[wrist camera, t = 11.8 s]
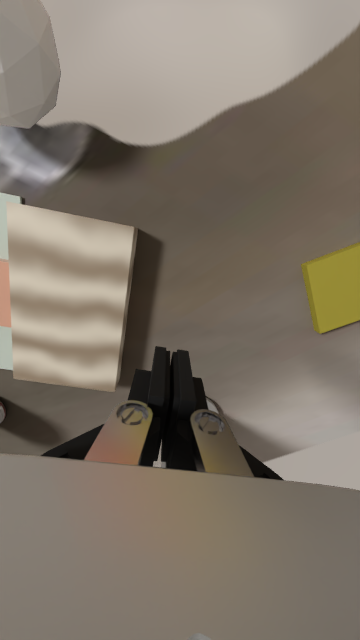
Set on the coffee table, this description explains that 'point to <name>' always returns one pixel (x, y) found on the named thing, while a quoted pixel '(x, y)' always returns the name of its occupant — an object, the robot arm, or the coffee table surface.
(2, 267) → the coaster
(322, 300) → the flat olive board
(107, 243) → the platform
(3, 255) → the mat
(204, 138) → the coffee table surface
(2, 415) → the soda can
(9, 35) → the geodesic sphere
